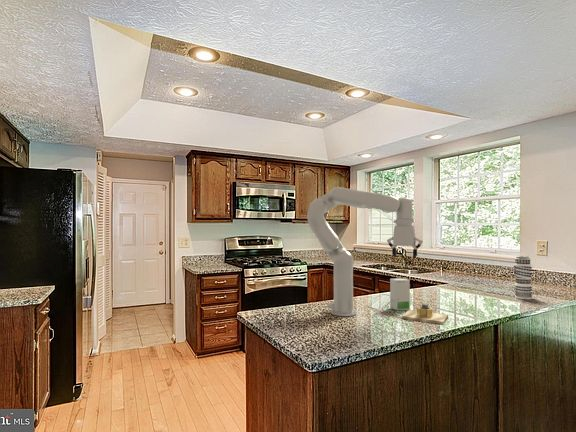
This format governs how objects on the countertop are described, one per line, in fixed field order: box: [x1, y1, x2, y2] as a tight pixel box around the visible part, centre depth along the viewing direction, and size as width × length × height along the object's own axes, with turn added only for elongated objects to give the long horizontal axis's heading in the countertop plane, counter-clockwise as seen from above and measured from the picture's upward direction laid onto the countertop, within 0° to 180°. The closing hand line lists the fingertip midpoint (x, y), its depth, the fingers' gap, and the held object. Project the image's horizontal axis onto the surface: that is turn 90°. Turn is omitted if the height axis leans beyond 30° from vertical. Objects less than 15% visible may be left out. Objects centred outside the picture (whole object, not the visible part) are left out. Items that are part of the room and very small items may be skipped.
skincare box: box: [389, 277, 411, 311], centre depth 181 cm, size 8×7×16 cm
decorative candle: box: [513, 255, 533, 300], centre depth 207 cm, size 9×9×25 cm
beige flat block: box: [401, 303, 449, 325], centre depth 163 cm, size 18×14×6 cm
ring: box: [416, 305, 434, 317], centre depth 163 cm, size 7×7×4 cm
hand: (404, 256), depth 171 cm, fingers open, 9 cm apart
